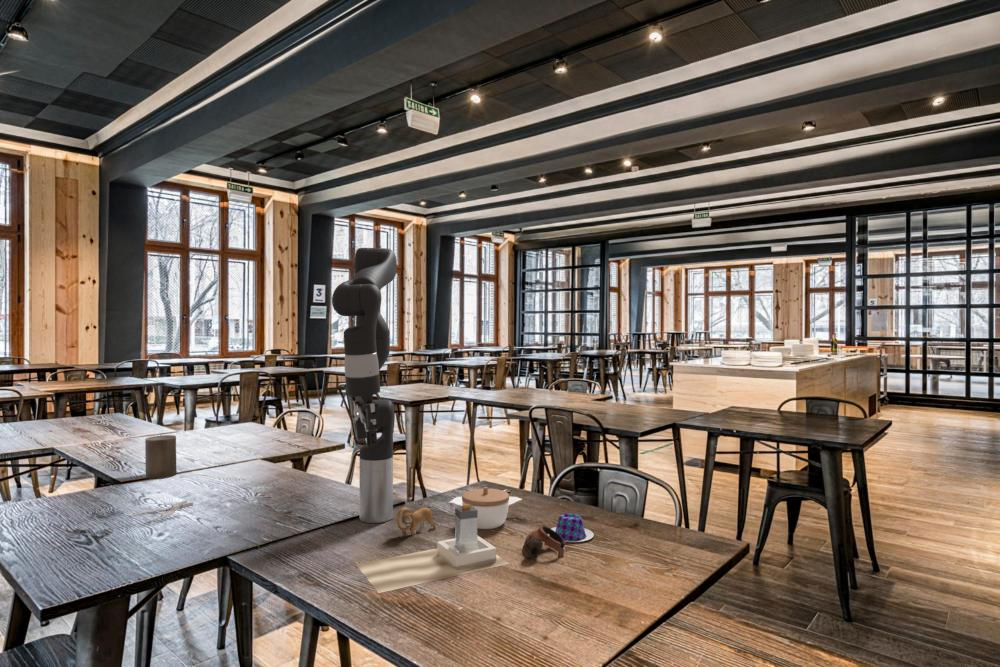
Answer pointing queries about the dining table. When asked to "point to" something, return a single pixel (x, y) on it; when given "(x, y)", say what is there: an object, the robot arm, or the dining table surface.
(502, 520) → the lidded bowl
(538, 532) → the pottery mug
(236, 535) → the dining table surface
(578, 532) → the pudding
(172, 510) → the pliers
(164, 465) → the pillar candle
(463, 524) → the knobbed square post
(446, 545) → the box
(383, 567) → the board
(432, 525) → the lion figurine
